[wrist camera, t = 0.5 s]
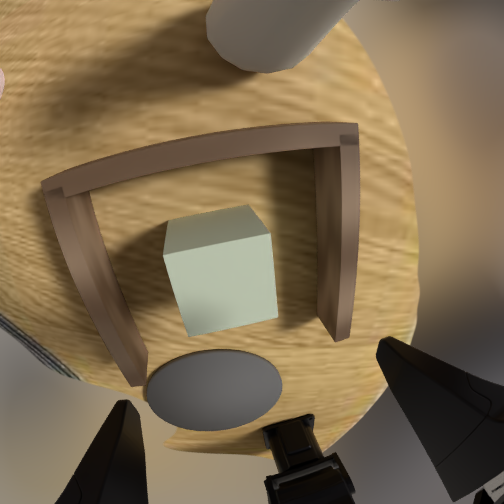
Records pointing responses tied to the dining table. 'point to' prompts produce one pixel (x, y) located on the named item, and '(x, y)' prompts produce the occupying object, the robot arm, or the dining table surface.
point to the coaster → (214, 389)
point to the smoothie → (1, 82)
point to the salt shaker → (271, 30)
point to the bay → (195, 152)
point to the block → (221, 269)
